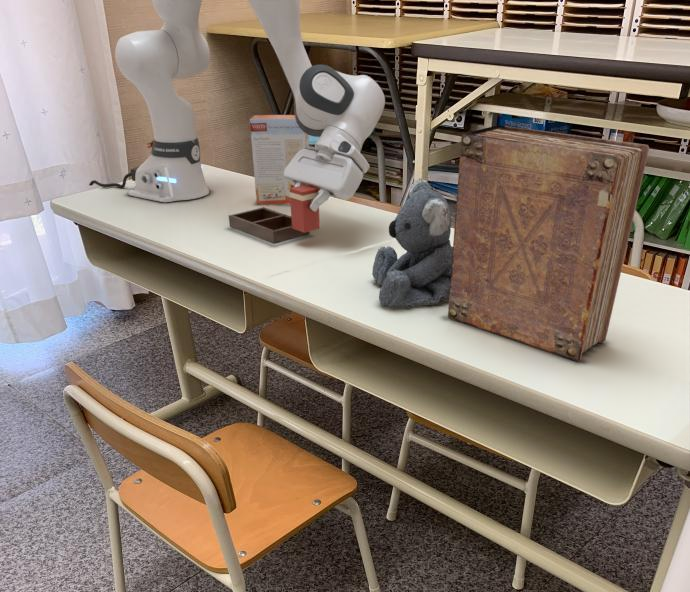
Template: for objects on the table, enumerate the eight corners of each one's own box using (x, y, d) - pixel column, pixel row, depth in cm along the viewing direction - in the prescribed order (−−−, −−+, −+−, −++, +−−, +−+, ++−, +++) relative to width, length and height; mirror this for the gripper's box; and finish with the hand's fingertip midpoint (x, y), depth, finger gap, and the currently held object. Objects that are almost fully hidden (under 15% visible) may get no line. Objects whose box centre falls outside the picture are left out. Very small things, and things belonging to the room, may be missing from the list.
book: (606, 343, 113) (651, 145, 95) (578, 362, 107) (621, 156, 90) (476, 302, 127) (495, 124, 110) (446, 318, 122) (461, 132, 104)
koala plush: (369, 277, 138) (370, 174, 127) (458, 274, 139) (466, 171, 128) (381, 312, 124) (383, 199, 113) (479, 307, 125) (491, 196, 114)
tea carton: (291, 228, 152) (289, 188, 147) (307, 224, 155) (305, 184, 150) (304, 232, 150) (302, 192, 145) (320, 228, 152) (318, 188, 147)
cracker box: (311, 199, 187) (308, 114, 175) (308, 205, 182) (305, 118, 170) (260, 198, 188) (254, 113, 176) (256, 204, 183) (249, 117, 171)
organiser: (229, 229, 166) (228, 215, 164) (264, 220, 171) (263, 207, 169) (274, 246, 155) (273, 231, 153) (309, 236, 160) (309, 222, 159)
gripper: (297, 135, 153) (264, 189, 153) (359, 148, 140) (324, 207, 140) (313, 153, 158) (282, 206, 158) (375, 168, 145) (341, 225, 145)
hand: (302, 206), depth 149 cm, fingers closed on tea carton, 4 cm apart
